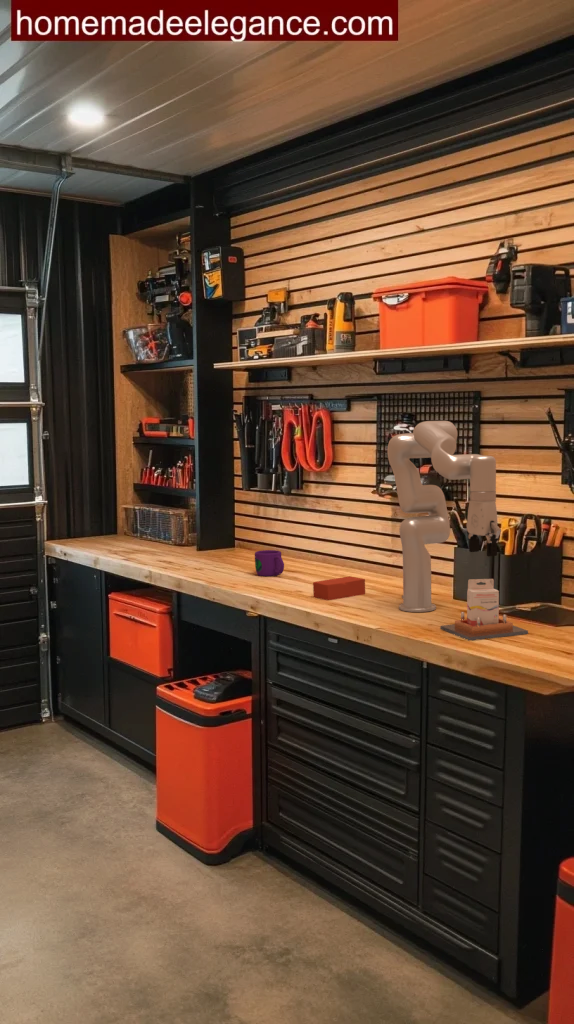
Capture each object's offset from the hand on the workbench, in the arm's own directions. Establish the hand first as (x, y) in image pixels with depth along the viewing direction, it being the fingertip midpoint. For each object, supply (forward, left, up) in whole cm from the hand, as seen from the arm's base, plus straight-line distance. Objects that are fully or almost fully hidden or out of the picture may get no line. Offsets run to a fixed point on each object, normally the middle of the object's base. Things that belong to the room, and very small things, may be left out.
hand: (482, 553), depth 272 cm
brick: (-73, -16, -24) cm, 79 cm away
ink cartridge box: (0, 0, -23) cm, 23 cm away
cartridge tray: (0, 0, -24) cm, 24 cm away
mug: (-127, -24, -24) cm, 132 cm away
